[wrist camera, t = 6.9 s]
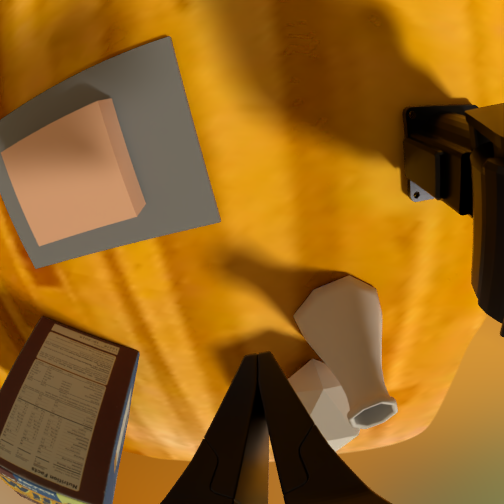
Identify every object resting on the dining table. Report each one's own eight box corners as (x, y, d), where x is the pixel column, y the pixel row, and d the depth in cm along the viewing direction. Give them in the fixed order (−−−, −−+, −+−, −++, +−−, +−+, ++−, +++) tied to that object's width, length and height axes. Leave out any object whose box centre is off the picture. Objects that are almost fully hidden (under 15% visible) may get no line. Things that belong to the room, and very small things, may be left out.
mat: (170, 37, 15) (169, 36, 14) (220, 219, 20) (220, 222, 20) (-17, 133, 16) (-20, 134, 16) (37, 266, 22) (35, 268, 21)
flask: (276, 313, 25) (290, 425, 16) (351, 258, 22) (404, 362, 14) (327, 354, 27) (351, 450, 19) (393, 309, 25) (440, 402, 16)
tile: (97, 100, 14) (0, 152, 14) (137, 216, 17) (39, 246, 18) (113, 97, 16) (20, 144, 16) (147, 201, 19) (54, 231, 20)
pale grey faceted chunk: (246, 366, 29) (256, 465, 25) (311, 354, 22) (323, 481, 18) (313, 360, 33) (321, 446, 29) (378, 346, 26) (389, 449, 22)
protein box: (54, 395, 31) (19, 496, 18) (41, 313, 24) (-30, 450, 11) (129, 422, 34) (109, 530, 20) (142, 350, 27) (104, 512, 13)
